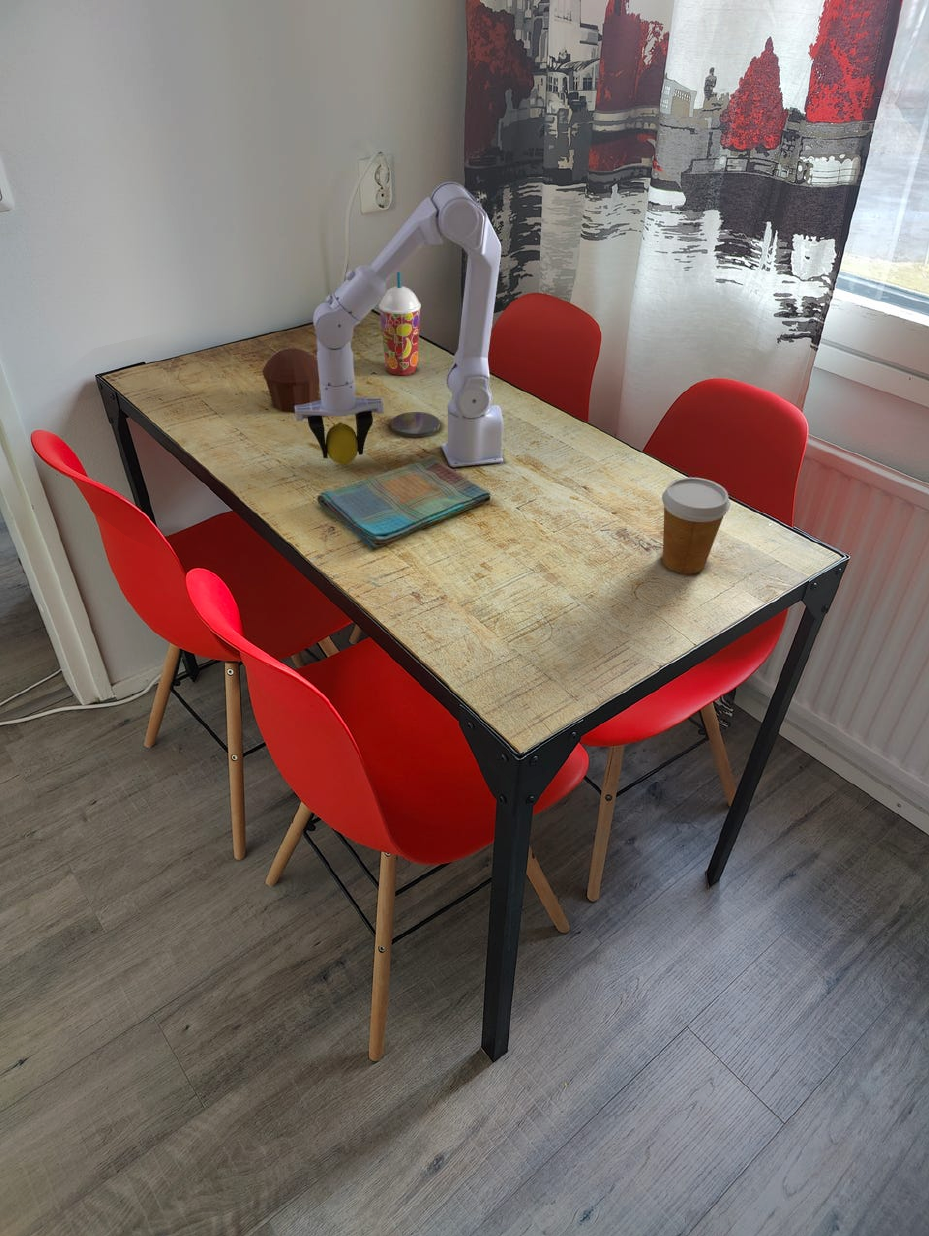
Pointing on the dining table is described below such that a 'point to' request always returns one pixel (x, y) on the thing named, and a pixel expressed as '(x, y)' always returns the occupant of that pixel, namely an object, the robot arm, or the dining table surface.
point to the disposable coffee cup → (691, 522)
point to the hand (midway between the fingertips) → (342, 453)
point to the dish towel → (402, 501)
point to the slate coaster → (415, 424)
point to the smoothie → (400, 329)
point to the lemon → (341, 443)
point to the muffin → (292, 378)
